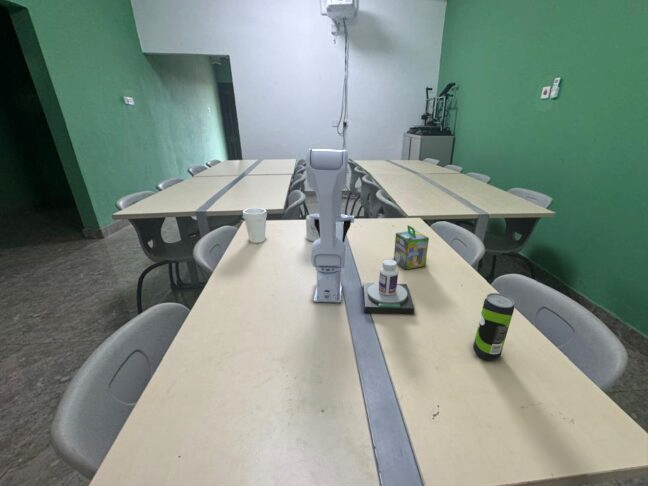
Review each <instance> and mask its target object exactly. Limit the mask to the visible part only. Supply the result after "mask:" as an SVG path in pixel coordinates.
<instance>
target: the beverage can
mask: <svg viewBox="0 0 648 486" xmlns="http://www.w3.org/2000/svg"><path fill="white" fill-rule="evenodd" d="M514 311H515V301H514V300H513V298H511V297H510V296H508V295H505V294H502V293H498V292H490V293H488V294H487V295H486V297H485V298H484V300H483V305H482V309H481V312H480V317H479V321H478V325H477V328H476V333H475V336H474V341H473V346H472V348H473V350H474V353H475V354H476V355H477V356H478V357H480V358H482V359H483V360H486V361H495V360H496V359H499V358H500V357H501V355H502V352H503V348H504V345H505V341H506V339H507V335H508V331H509V328H510V325H511V321H512V319H513V318H512V317H513V315H514Z"/></svg>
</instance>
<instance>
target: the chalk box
mask: <svg viewBox="0 0 648 486" xmlns="http://www.w3.org/2000/svg"><path fill="white" fill-rule="evenodd" d="M406 226H407V230H406V231H400V232H396V233H395V240H394V251H393V260H394V261H396V262H397V265H399V266H400V267H401V268H403V269H404V270H411V269H415V268H421V267H426V266H427V258H428V257H427V256H428V249H429V241H430V237H429V236H427V235H425V234H423V233H421V232H420V231H417V230H416V229H415V228H414V227H413V226H411V225H409V224H407V225H406Z"/></svg>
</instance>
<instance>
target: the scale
mask: <svg viewBox="0 0 648 486" xmlns="http://www.w3.org/2000/svg"><path fill="white" fill-rule="evenodd" d="M362 289H363V290H362V291H363V310H364V314H389V315H390V314H391V315H393V314H395V315H415V305H414V303H413V299H412V296H411V293H410V290H409V286H408V284H407V283H397V290H396V293H395V294H394V295H383V294H381V293H380V292H379V281H378V282H363V286H362Z"/></svg>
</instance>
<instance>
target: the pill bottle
mask: <svg viewBox="0 0 648 486" xmlns="http://www.w3.org/2000/svg"><path fill="white" fill-rule="evenodd" d="M397 266H398V263H397V262H396V261H394V259H385V260H383V262H382V267H381V268H380V269H379V278H378V282H379V292H380V293H381V294H383V295H394V294H395V293H396V290H397V284H398V280H399V279H398V278H399V270H398V268H397Z"/></svg>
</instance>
